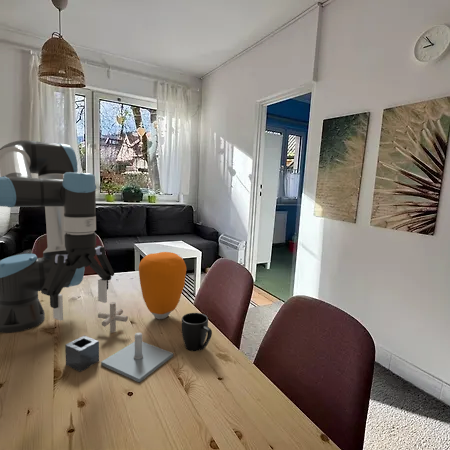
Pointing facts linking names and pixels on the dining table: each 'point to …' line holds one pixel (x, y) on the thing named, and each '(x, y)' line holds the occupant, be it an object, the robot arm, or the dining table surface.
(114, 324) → the light grey toy jack
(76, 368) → the collar
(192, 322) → the mug
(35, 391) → the dining table surface
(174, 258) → the orange egg-shaped ornament
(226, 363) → the dining table surface
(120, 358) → the post block
